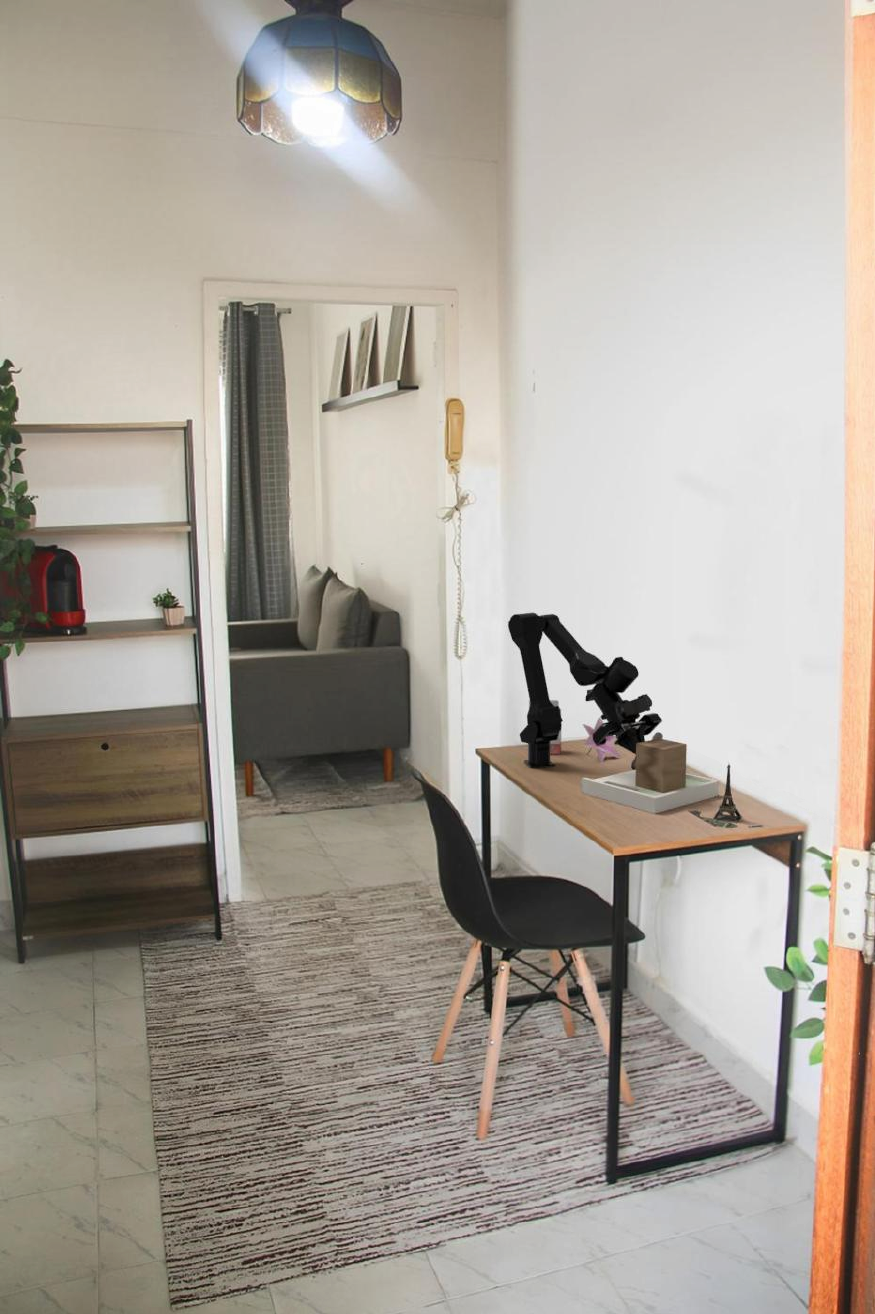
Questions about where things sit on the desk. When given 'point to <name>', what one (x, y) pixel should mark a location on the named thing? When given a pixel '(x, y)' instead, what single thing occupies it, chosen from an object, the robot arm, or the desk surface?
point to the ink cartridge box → (556, 744)
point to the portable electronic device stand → (656, 736)
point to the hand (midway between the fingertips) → (646, 758)
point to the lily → (600, 749)
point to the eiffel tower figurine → (724, 810)
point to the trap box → (649, 792)
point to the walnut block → (661, 765)
